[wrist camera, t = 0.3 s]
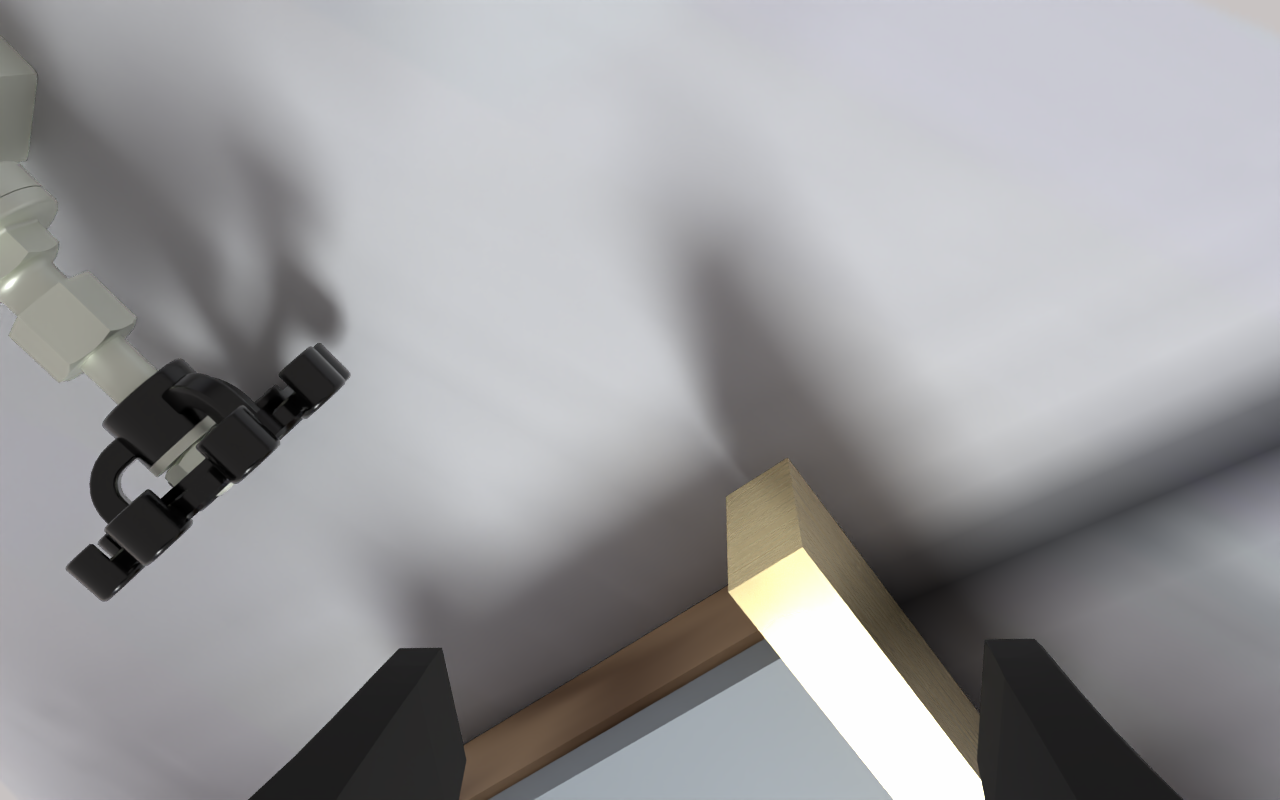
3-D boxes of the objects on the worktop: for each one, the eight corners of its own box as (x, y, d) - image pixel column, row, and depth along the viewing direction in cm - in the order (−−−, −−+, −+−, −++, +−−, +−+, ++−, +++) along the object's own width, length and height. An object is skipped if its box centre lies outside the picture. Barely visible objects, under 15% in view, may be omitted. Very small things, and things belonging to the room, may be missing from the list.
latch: (1042, 916, 26) (1115, 1115, 21) (718, 501, 22) (719, 628, 18) (1116, 882, 25) (1207, 1079, 21) (795, 452, 22) (817, 569, 17)
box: (613, 924, 29) (603, 1008, 26) (451, 752, 27) (425, 824, 25) (926, 762, 26) (947, 838, 24) (768, 560, 24) (775, 620, 22)
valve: (-202, 118, 22) (208, 503, 25) (-550, 155, 16) (43, 660, 19) (-29, -104, 21) (394, 335, 23) (-347, -157, 14) (278, 449, 17)
